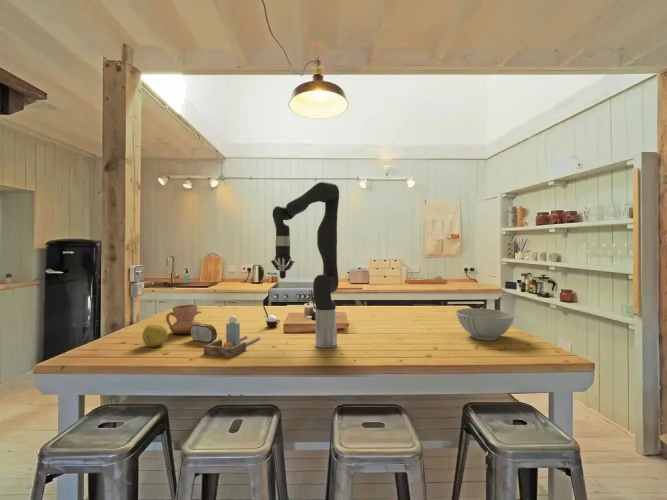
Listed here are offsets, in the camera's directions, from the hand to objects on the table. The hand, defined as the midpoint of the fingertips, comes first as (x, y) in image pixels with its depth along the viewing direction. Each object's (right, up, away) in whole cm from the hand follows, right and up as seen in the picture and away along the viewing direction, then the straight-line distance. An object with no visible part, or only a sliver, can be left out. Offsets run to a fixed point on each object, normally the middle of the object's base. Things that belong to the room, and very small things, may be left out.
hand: (282, 278), depth 182 cm
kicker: (-19, -30, -24) cm, 43 cm away
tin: (-36, -30, -13) cm, 49 cm away
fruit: (-56, -30, -20) cm, 66 cm away
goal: (-21, -30, -29) cm, 46 cm away
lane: (-16, -29, -16) cm, 37 cm away
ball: (-21, -29, -29) cm, 46 cm away
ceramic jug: (-52, -29, +3) cm, 60 cm away
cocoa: (-9, -29, +16) cm, 34 cm away
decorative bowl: (+103, -30, -4) cm, 107 cm away
